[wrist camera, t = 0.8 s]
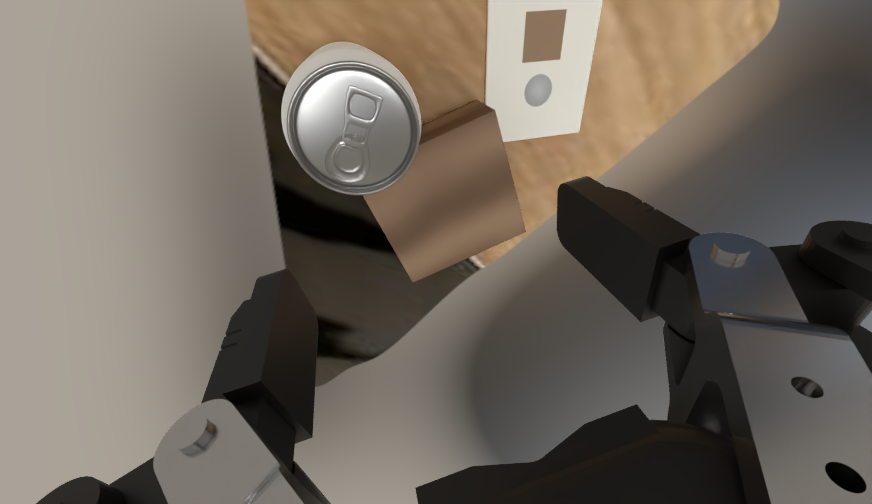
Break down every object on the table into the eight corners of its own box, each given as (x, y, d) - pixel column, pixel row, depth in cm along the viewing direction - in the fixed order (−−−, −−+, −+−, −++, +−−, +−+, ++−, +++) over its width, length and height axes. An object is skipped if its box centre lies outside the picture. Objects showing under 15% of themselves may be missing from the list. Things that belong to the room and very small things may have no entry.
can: (293, 123, 24) (264, 184, 15) (310, 23, 22) (288, 16, 12) (379, 150, 27) (403, 217, 17) (404, 63, 24) (450, 85, 14)
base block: (351, 158, 27) (351, 176, 24) (476, 99, 26) (495, 109, 23) (406, 257, 33) (412, 282, 30) (508, 211, 33) (525, 231, 30)
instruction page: (488, -40, 22) (489, -41, 22) (608, -44, 24) (610, -45, 23) (483, 144, 29) (484, 144, 29) (577, 131, 30) (579, 132, 30)
